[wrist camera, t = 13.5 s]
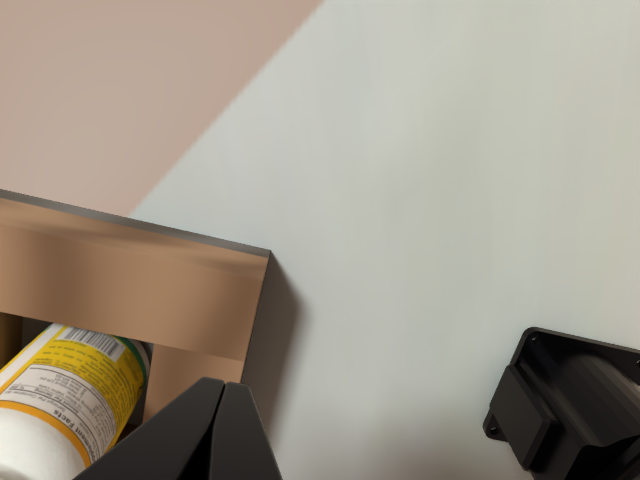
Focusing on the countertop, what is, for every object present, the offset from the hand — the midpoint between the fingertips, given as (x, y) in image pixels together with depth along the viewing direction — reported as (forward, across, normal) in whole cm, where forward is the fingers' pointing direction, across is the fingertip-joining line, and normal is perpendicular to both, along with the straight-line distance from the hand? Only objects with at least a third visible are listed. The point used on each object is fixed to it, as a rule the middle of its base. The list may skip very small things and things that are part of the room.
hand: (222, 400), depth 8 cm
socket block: (+13, +7, +9) cm, 17 cm away
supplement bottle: (+12, +7, +9) cm, 17 cm away
